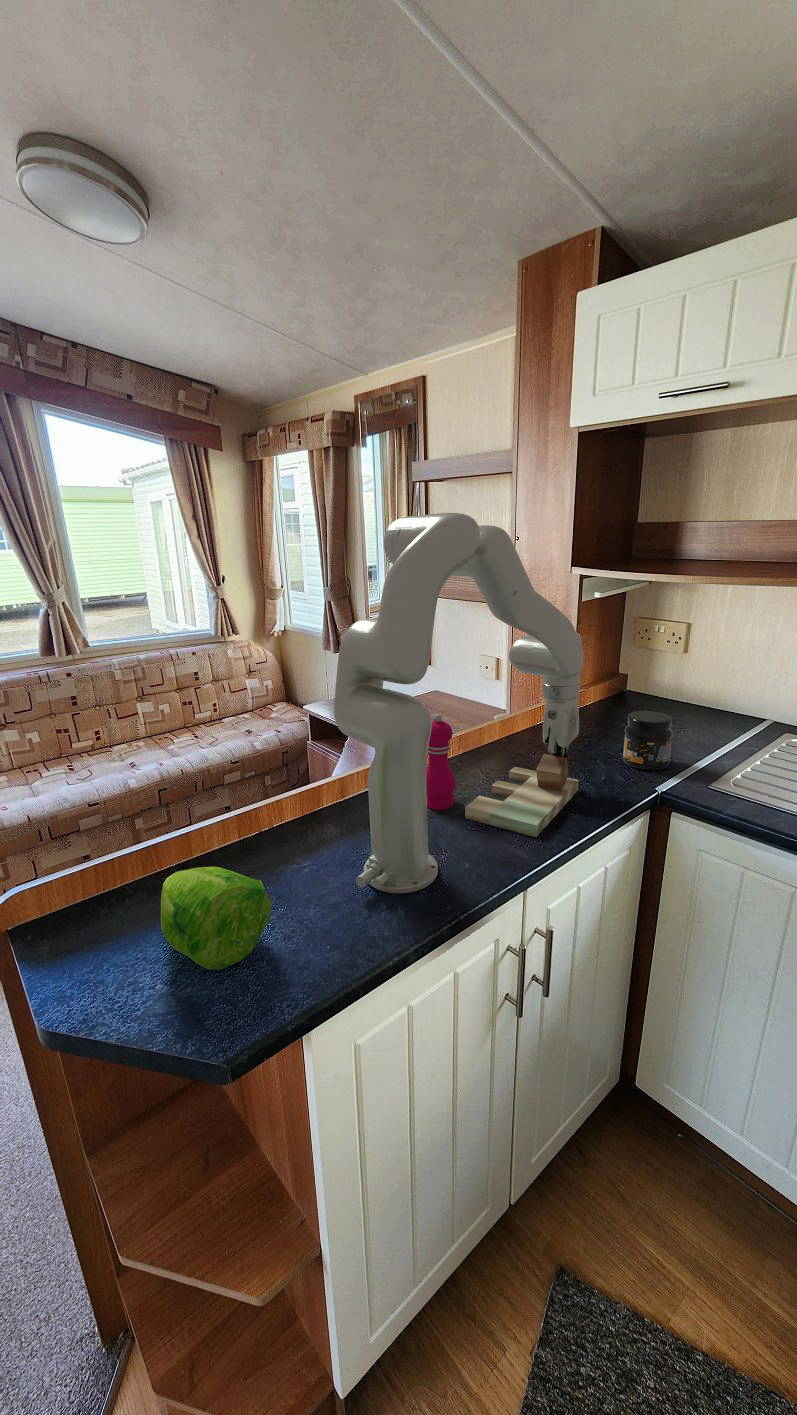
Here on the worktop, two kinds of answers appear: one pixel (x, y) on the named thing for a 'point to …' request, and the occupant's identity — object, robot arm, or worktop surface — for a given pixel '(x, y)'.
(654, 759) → the supplement container
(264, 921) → the lettuce
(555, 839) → the worktop surface
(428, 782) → the pepper mill
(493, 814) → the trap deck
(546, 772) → the walnut block
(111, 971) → the worktop surface
